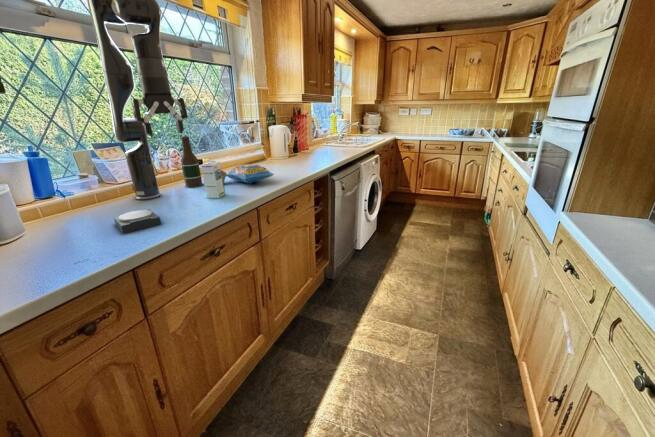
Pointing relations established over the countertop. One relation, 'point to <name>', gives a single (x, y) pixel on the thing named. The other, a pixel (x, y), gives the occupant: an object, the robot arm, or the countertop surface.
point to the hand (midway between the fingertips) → (166, 134)
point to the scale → (136, 220)
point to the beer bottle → (190, 165)
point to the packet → (249, 173)
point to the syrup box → (213, 179)
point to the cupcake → (223, 174)
